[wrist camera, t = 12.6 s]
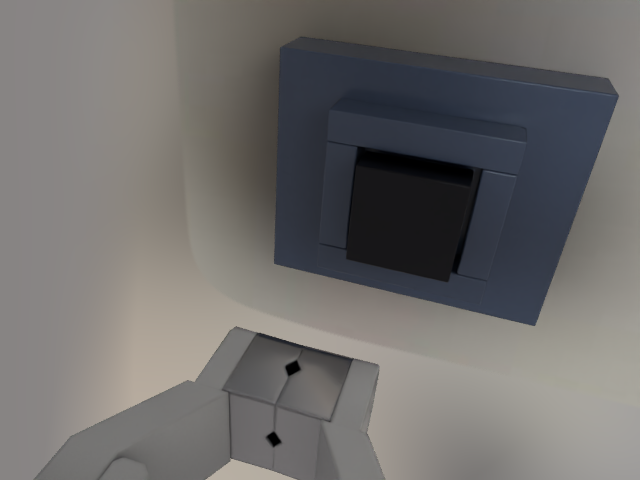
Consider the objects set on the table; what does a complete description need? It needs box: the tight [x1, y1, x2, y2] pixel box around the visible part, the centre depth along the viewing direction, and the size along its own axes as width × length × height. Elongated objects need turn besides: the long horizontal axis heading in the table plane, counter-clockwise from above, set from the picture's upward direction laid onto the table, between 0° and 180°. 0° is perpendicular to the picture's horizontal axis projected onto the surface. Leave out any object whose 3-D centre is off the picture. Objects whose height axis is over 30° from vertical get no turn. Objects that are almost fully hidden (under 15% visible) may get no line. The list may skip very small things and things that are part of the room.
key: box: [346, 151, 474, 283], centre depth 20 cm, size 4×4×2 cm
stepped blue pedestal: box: [274, 37, 619, 326], centre depth 22 cm, size 12×10×4 cm
